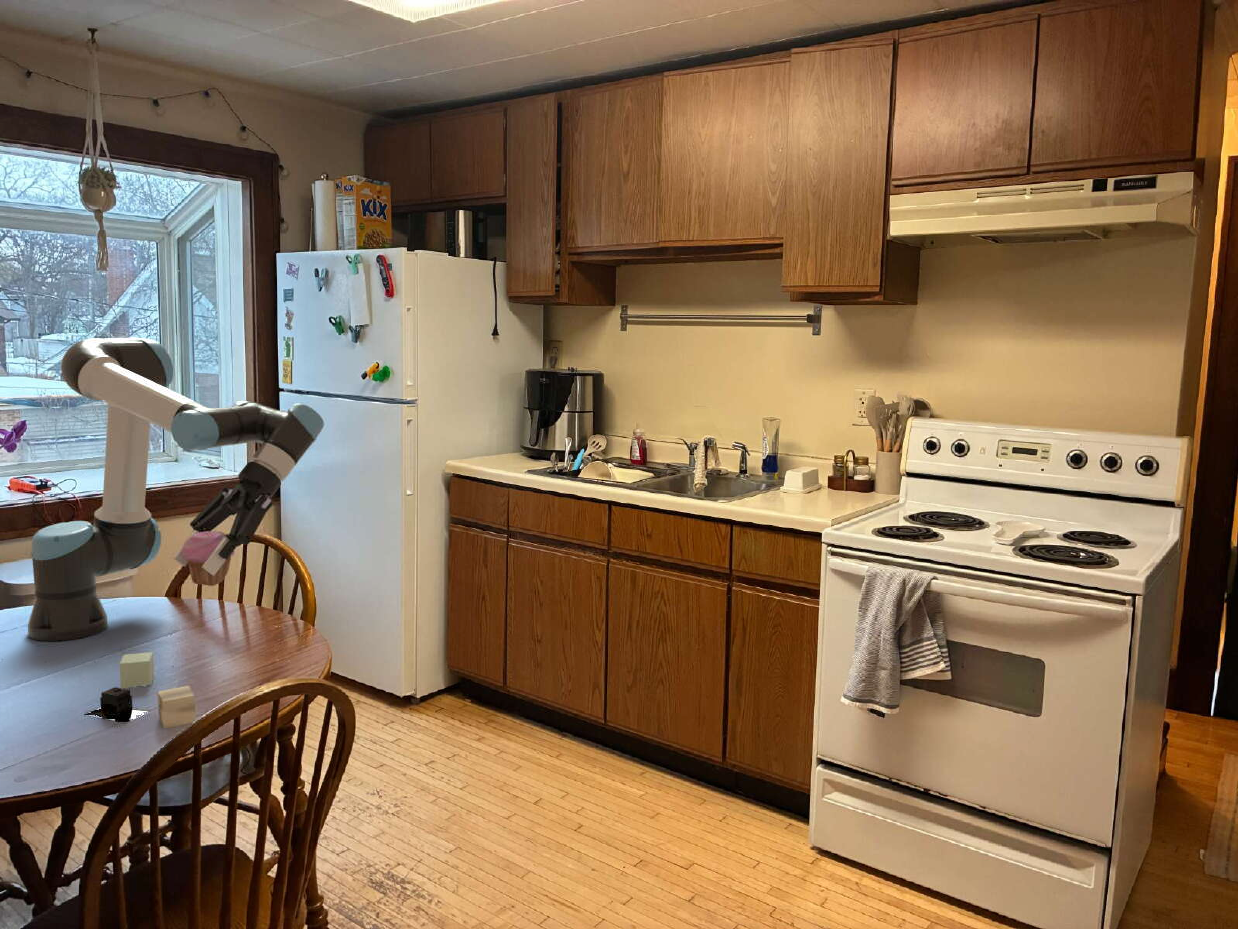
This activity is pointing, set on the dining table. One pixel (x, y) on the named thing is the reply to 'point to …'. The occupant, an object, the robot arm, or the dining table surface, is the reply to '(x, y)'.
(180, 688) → the birch block
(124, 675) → the sage block
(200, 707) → the dining table surface
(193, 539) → the cupcake
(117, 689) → the black piece
